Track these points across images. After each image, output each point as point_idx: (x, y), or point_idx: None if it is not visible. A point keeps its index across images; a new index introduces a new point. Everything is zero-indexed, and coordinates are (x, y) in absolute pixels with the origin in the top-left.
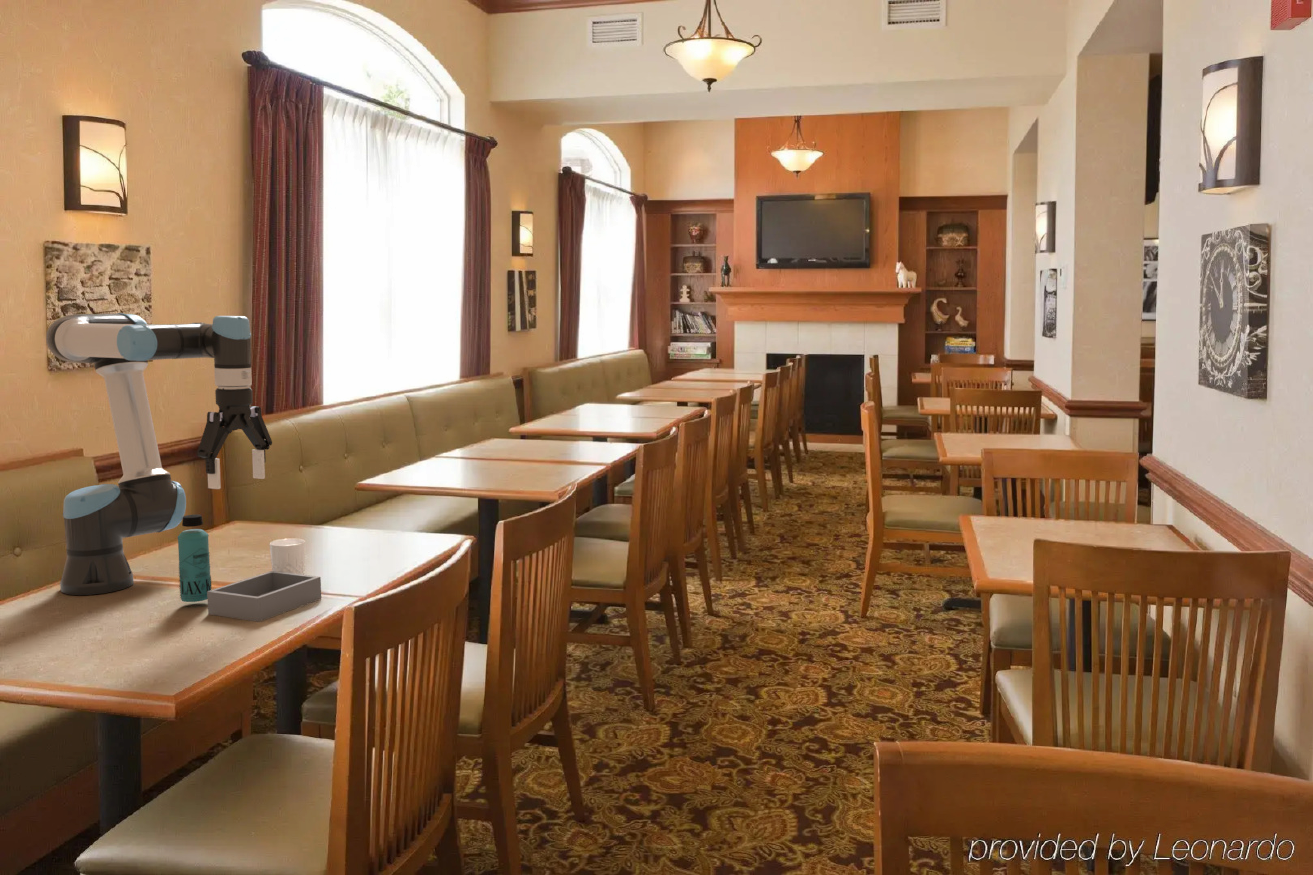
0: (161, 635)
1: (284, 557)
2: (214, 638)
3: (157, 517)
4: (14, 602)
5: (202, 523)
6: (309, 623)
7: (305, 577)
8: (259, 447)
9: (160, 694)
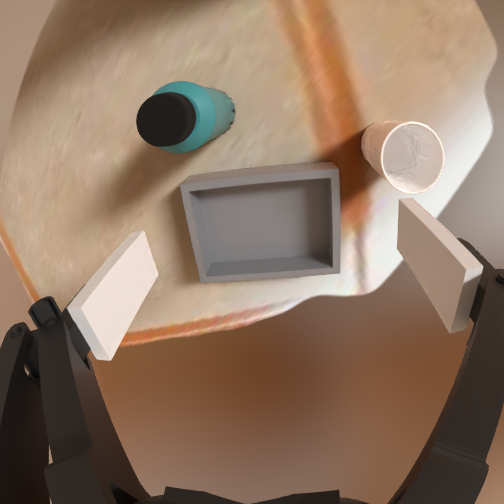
0: (106, 207)
1: (378, 171)
2: None
3: None
4: None
5: (185, 139)
6: (238, 317)
7: (332, 250)
8: (479, 312)
9: None
